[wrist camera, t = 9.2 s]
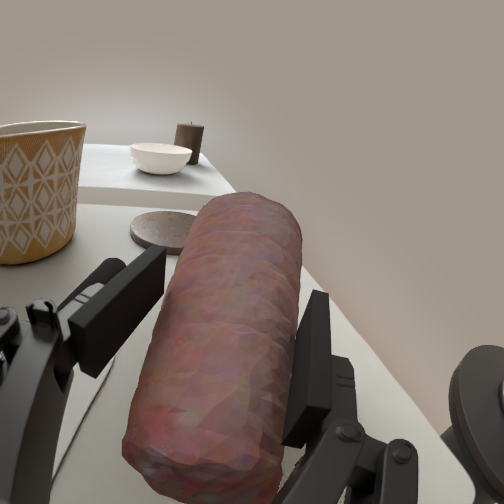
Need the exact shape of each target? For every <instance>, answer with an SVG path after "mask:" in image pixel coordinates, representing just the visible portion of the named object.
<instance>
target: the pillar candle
mask: <svg viewBox="0 0 504 504" xmlns="http://www.w3.org/2000/svg"><path fill="white" fill-rule="evenodd" d="M203 130H204V127H203V126H199V125H192V122H191V124H180V123H178V124H177V130H176V136H175V142H174V145H175V146H180V147H184V148H187V149H190V150H192V154H191V157H190V159H189V161H188V162H187V163H186V164H197V163H198V159H199V153H200V147H201V141H202V136H203Z"/></svg>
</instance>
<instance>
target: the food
mask: <svg viewBox="0 0 504 504" xmlns="http://www.w3.org/2000/svg"><path fill="white" fill-rule="evenodd" d="M301 267H302V234H301V229H300V227H299V224H298V223H297V221H296V219H295V218H294V216H293V214H292V213H291V212H290V211H289V210H288V209H287V208H286V207H285V206H283V205H282V204H280V203H278V202H275V201H272V200H269V199H267V198H265V197H263V196H261V195H259V194H256V193H251V192H240V193H231V194H226V195H222V196H219V197H216V198H214V199H212V200H211V201H209V202H208V203H207V204H206V205H205V206H203V208H202V209H201V210H200V212H199V213H198V214H197V217H196V219H195V220H194V222H193V224H192V228H191V231H190V232H189V235H188V237H187V240H186V243H185V246H184V249H183V251H182V252H181V254H180V256H179V259H178V261H177V264H176V267H175V271H174V275H173V276H172V278H171V280H170V282H169V284H168V287H167V290H166V293H165V296H164V299H163V303H162V306H161V311H160V313H159V315H158V318H157V321H156V324H155V326H154V329H153V333H152V341H151V343H150V345H149V348H148V351H147V354H146V357H145V360H144V364H143V367H142V370H141V374H140V377H139V383H138V387H137V389H136V391H135V394H134V397H133V399H132V402H131V407H130V412H129V418H128V425H127V431H126V434H125V436H124V438H123V439H122V456H123V457H124V459H125V460H126V461H127V462H128V463H129V464H130V465H131V466H132V467H133V468H134V469H136V470H137V471H138V472H139V473H141V474H142V476H143V477H144V479H145V481H146V482H147V483H148V484H149V486H150V487H151V488H152V489H153V490H154V491H156V492H157V493H159V494H161V495H164V496H167V497H170V498H172V499H174V500H177V501H179V502H182V503H186V504H270V503H271V502H272V501H273V499H274V498H275V496H276V495H277V491H278V488H279V485H280V482H281V479H282V475H283V472H282V465H281V463H282V459H283V456H284V446H283V445H281V441H282V435H283V429H284V422H285V416H286V409H287V402H288V395H289V388H290V381H291V372H292V365H293V357H294V349H295V336H296V333H297V326H298V322H297V320H298V314H299V307H298V303H299V292H300V274H301Z"/></svg>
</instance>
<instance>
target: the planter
mask: <svg viewBox="0 0 504 504" xmlns="http://www.w3.org/2000/svg"><path fill="white" fill-rule="evenodd" d="M85 130H86V124H85V123H82V122H74V121H36V122H24V123H15V124H8V125H1V126H0V264H22V263H28V262H32V261H36V260H39V259H42V258H44V257H47V256H49V255H51V254H53V253H55V252H57V251H58V250H60V249H61V248H62V247H63V246H64V245H66V244H67V243H68V241H69V240H70V239H71V237H72V235H73V233H74V230H75V224H76V205H77V191H78V181H79V171H80V163H81V155H82V148H83V142H84V135H85Z"/></svg>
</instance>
